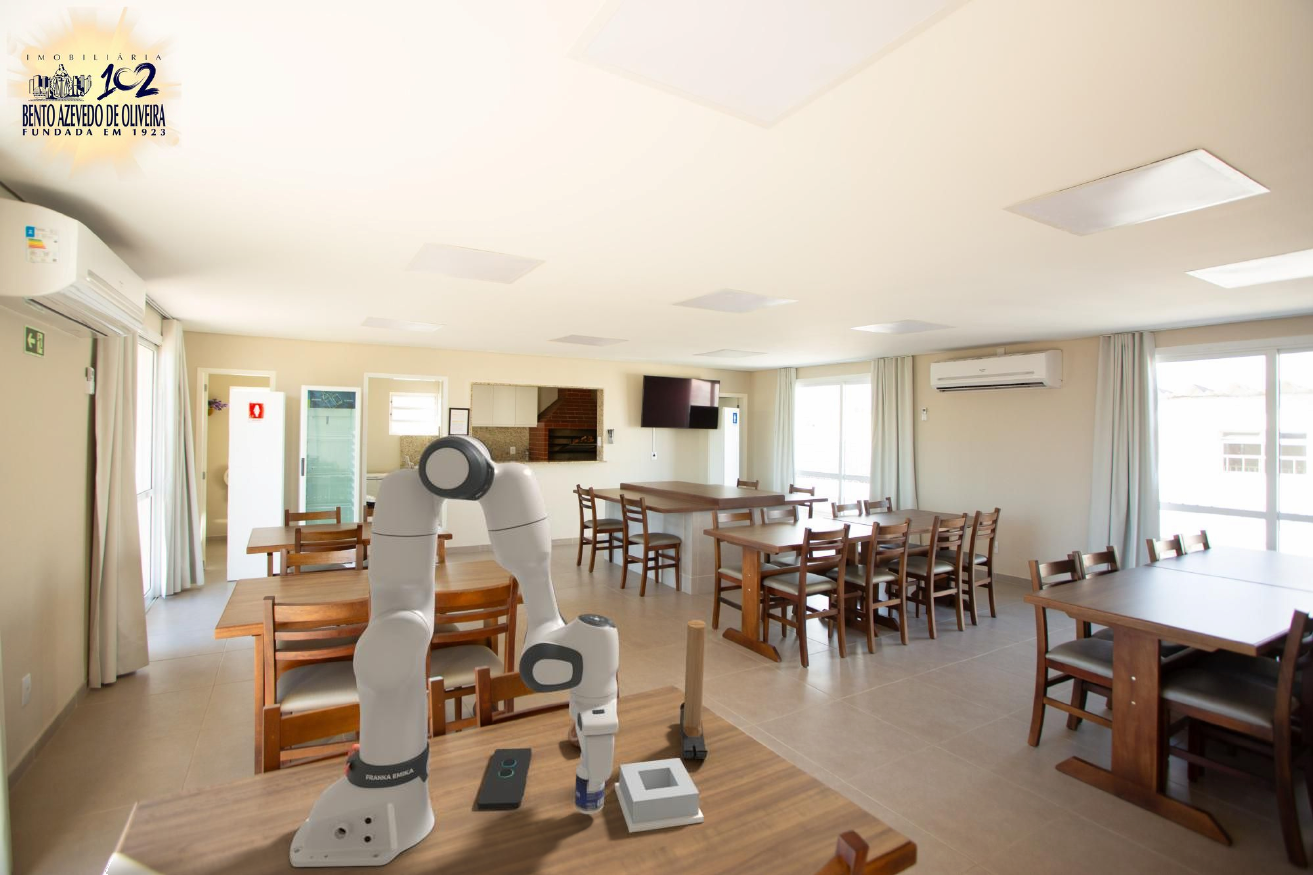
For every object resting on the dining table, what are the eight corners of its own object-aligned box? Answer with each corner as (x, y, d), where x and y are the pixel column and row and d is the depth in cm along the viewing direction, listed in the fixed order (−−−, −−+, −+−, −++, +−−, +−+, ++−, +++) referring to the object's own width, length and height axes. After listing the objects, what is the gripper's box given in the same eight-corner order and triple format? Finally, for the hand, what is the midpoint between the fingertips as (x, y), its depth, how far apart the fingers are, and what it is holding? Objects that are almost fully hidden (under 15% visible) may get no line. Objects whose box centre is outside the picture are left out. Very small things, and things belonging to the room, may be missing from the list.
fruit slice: (600, 753, 134) (601, 730, 134) (570, 757, 132) (571, 734, 132) (593, 735, 142) (593, 714, 142) (565, 738, 140) (565, 717, 140)
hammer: (706, 774, 130) (712, 648, 125) (683, 774, 130) (688, 647, 125) (699, 715, 150) (704, 604, 145) (679, 715, 150) (683, 603, 145)
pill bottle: (571, 800, 113) (573, 748, 113) (598, 795, 115) (600, 744, 115) (579, 817, 108) (581, 763, 108) (607, 811, 110) (609, 758, 110)
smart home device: (532, 747, 133) (520, 801, 113) (532, 755, 133) (520, 810, 113) (494, 748, 132) (476, 802, 113) (494, 755, 132) (475, 812, 113)
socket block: (629, 832, 107) (630, 804, 107) (614, 787, 121) (615, 763, 121) (703, 821, 111) (704, 794, 111) (681, 779, 124) (681, 755, 124)
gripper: (569, 682, 121) (566, 751, 121) (583, 731, 101) (580, 813, 101) (600, 680, 122) (598, 748, 122) (620, 727, 103) (617, 808, 102)
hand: (590, 778), depth 111 cm, fingers closed on pill bottle, 5 cm apart
